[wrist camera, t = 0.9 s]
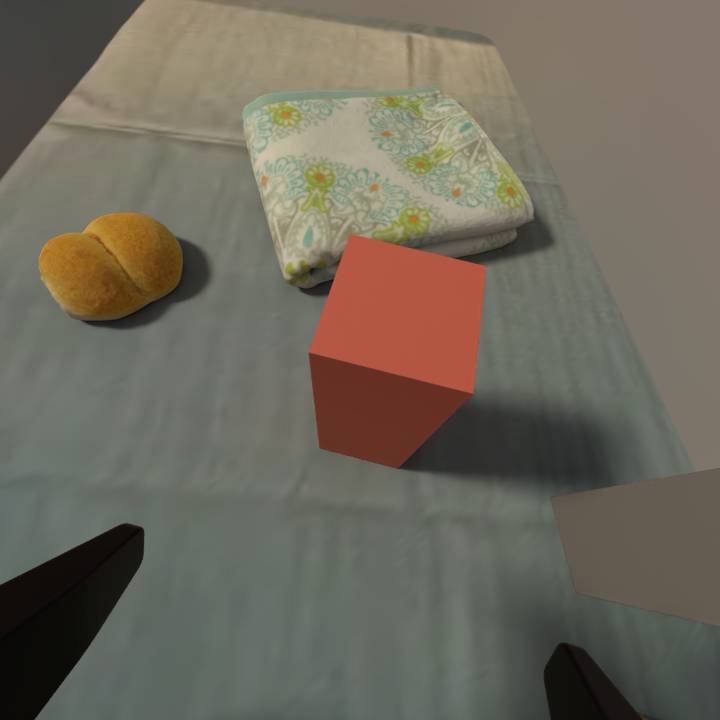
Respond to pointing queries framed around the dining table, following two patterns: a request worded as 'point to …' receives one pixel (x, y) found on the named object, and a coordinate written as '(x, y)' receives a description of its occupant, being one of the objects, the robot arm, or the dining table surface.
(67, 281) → the bread roll
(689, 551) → the gray block
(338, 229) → the towel
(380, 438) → the red block
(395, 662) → the dining table surface
